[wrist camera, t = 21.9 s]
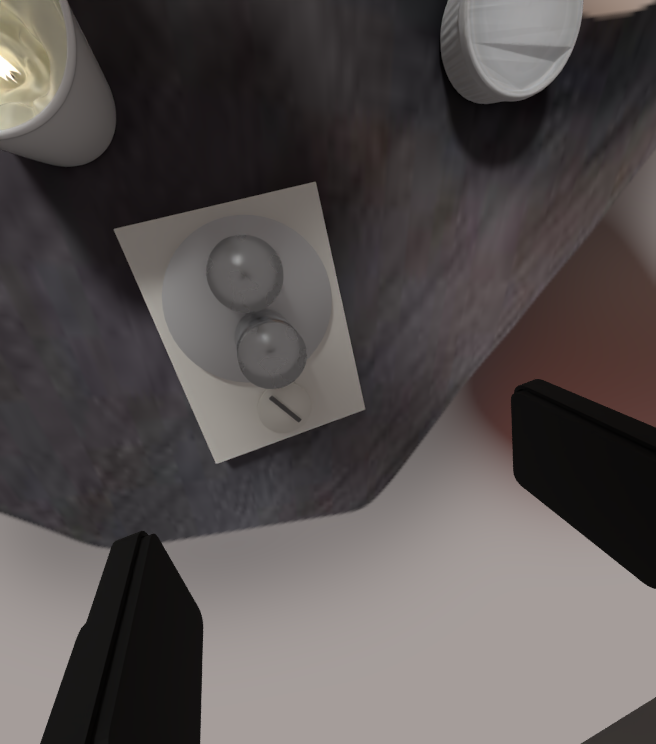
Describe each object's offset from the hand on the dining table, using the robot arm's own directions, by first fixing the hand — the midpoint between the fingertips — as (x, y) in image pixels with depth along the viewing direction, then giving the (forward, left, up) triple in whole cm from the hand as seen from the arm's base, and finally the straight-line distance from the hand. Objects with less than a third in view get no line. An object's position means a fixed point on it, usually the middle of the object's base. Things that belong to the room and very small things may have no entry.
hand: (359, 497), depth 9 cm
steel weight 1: (-4, 0, -24) cm, 25 cm away
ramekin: (-17, +27, -29) cm, 43 cm away
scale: (+2, 0, -28) cm, 28 cm away
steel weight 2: (+2, 0, -24) cm, 24 cm away
